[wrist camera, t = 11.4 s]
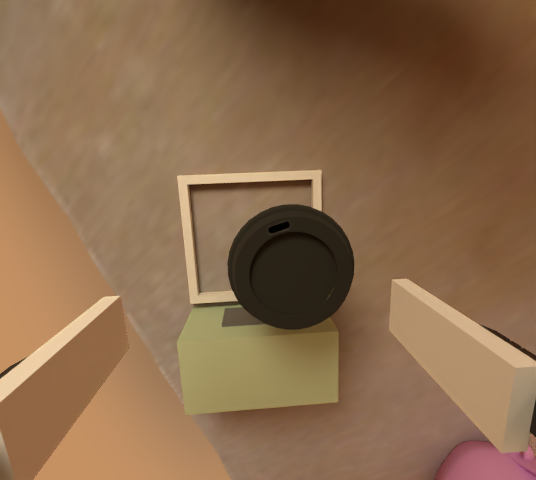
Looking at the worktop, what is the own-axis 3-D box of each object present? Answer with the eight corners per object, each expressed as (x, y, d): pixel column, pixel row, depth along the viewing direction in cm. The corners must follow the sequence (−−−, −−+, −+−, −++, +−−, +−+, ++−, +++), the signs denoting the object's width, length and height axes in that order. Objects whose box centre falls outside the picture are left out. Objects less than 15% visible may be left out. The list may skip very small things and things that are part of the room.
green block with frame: (179, 176, 33) (157, 173, 25) (319, 170, 33) (340, 166, 26) (198, 366, 37) (185, 415, 30) (320, 357, 38) (338, 402, 31)
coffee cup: (253, 284, 36) (249, 354, 21) (228, 210, 34) (204, 231, 19) (327, 261, 35) (375, 316, 21) (306, 185, 33) (343, 187, 19)
